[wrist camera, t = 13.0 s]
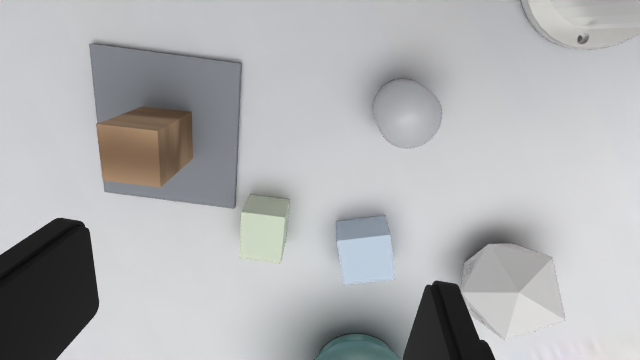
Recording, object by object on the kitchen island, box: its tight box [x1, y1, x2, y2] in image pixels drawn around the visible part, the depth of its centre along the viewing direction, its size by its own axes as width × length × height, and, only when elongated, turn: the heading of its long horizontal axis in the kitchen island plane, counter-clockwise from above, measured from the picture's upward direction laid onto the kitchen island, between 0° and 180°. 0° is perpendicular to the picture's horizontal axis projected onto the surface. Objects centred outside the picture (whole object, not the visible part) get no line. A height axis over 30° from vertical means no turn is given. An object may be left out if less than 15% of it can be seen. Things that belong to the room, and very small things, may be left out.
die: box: [461, 244, 566, 341], centre depth 35 cm, size 8×9×10 cm
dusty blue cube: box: [336, 215, 395, 285], centre depth 37 cm, size 5×5×4 cm
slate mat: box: [89, 44, 242, 209], centre depth 35 cm, size 14×13×1 cm
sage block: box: [239, 194, 290, 264], centre depth 36 cm, size 5×4×4 cm
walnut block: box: [96, 106, 193, 187], centre depth 31 cm, size 4×4×7 cm
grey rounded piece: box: [373, 79, 442, 148], centre depth 31 cm, size 5×5×4 cm
